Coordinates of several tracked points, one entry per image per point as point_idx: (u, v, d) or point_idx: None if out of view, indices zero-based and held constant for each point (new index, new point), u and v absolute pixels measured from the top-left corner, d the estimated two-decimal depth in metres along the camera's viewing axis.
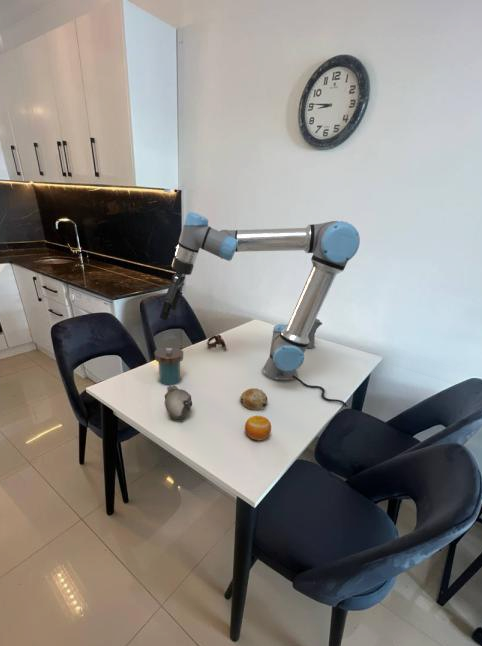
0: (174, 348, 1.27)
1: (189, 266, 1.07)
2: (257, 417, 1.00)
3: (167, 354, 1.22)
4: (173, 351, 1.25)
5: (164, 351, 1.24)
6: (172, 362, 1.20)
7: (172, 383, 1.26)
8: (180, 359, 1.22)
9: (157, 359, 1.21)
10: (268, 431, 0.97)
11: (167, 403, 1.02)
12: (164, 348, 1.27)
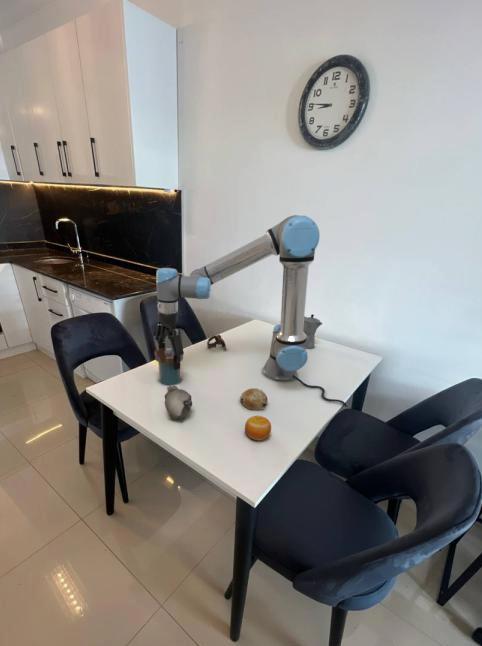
0: None
1: (177, 314, 1.15)
2: (257, 417, 1.00)
3: (167, 354, 1.22)
4: (173, 351, 1.25)
5: (164, 351, 1.24)
6: (172, 362, 1.20)
7: (172, 383, 1.26)
8: (180, 359, 1.22)
9: (157, 359, 1.21)
10: (268, 431, 0.97)
11: (167, 403, 1.02)
12: (164, 348, 1.27)
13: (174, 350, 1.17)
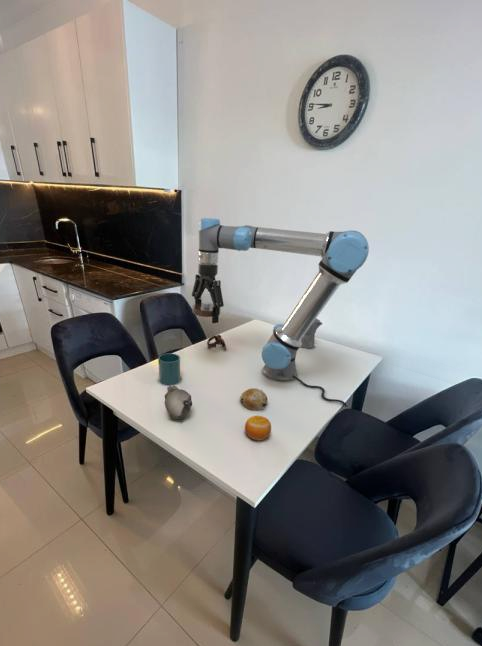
0: (210, 304, 1.29)
1: (217, 266, 1.17)
2: (257, 417, 1.00)
3: (205, 308, 1.24)
4: (210, 306, 1.26)
5: (202, 306, 1.26)
6: (211, 315, 1.22)
7: (172, 383, 1.26)
8: None
9: (196, 312, 1.22)
10: (268, 431, 0.97)
11: (167, 403, 1.02)
12: (201, 304, 1.28)
13: (214, 302, 1.19)
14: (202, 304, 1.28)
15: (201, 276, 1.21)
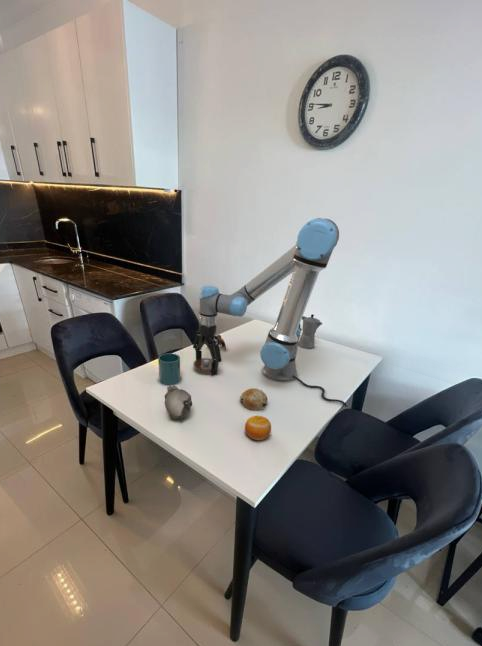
0: (210, 359, 1.43)
1: (216, 326, 1.30)
2: (257, 417, 1.00)
3: (205, 365, 1.37)
4: (209, 362, 1.40)
5: (202, 362, 1.40)
6: (210, 372, 1.36)
7: (172, 383, 1.26)
8: None
9: (196, 370, 1.36)
10: (268, 431, 0.97)
11: (167, 403, 1.02)
12: (201, 359, 1.42)
13: (213, 358, 1.31)
14: (202, 360, 1.42)
15: (201, 333, 1.34)
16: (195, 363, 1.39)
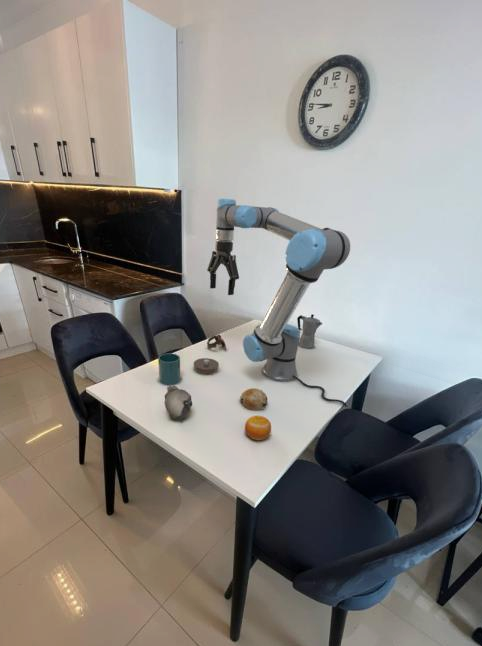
0: (210, 359, 1.43)
1: (232, 243, 1.30)
2: (257, 417, 1.00)
3: (205, 365, 1.37)
4: (209, 362, 1.40)
5: (202, 362, 1.40)
6: (210, 372, 1.36)
7: (172, 383, 1.26)
8: (216, 369, 1.38)
9: (196, 370, 1.36)
10: (268, 431, 0.97)
11: (167, 403, 1.02)
12: (201, 359, 1.42)
13: (230, 275, 1.31)
14: (202, 360, 1.42)
15: (217, 253, 1.34)
16: (195, 363, 1.39)
